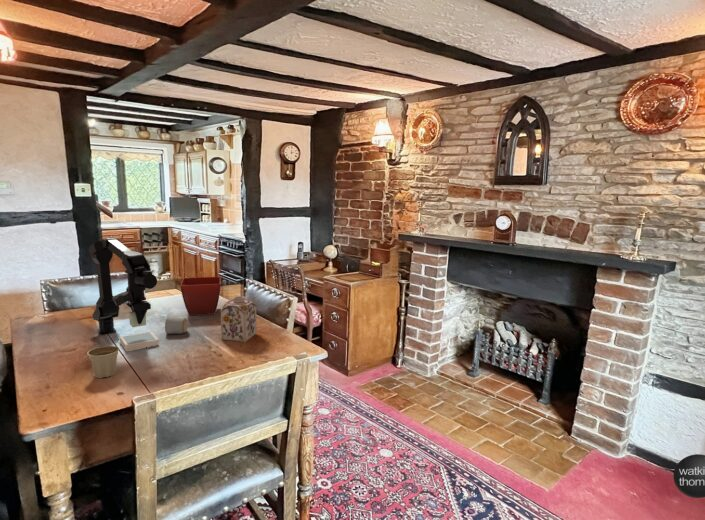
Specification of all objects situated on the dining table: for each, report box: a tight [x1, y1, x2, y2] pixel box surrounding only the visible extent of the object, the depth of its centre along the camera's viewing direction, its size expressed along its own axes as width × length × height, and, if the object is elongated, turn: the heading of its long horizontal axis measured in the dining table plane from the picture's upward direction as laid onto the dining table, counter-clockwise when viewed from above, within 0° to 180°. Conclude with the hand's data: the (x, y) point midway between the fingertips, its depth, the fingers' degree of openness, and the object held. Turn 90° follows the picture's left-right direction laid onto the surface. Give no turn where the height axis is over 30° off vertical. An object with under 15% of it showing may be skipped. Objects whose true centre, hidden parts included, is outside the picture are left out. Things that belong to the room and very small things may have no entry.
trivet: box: [119, 330, 160, 352], centre depth 171 cm, size 12×12×3 cm
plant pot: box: [179, 276, 222, 316], centre depth 216 cm, size 19×19×17 cm
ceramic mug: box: [164, 315, 189, 335], centre depth 186 cm, size 11×8×8 cm
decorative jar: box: [220, 295, 258, 343], centre depth 181 cm, size 12×12×18 cm
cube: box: [128, 311, 147, 328], centre depth 169 cm, size 5×5×5 cm
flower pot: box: [86, 345, 120, 379], centre depth 142 cm, size 9×9×9 cm
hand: (138, 322), depth 169 cm, fingers closed on cube, 5 cm apart
